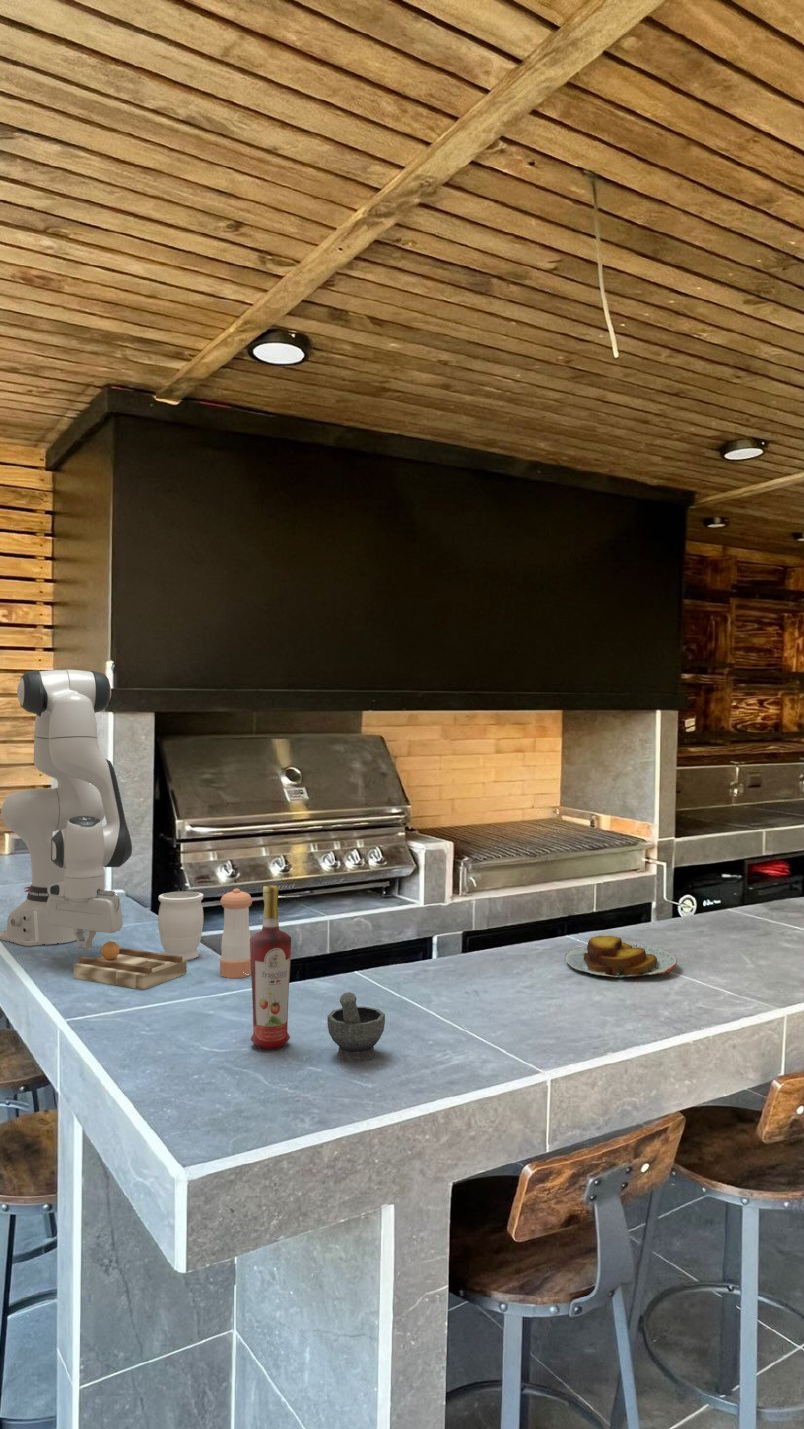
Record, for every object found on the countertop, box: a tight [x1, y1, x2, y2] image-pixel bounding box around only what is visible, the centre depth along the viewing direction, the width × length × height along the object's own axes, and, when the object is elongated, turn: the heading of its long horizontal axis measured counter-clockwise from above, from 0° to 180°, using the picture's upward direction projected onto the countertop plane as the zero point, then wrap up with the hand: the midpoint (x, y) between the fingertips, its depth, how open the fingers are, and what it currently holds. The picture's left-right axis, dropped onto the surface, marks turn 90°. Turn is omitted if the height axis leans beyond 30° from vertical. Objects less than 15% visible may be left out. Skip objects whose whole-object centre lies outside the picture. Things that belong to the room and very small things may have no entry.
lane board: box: [73, 947, 188, 991], centre depth 211 cm, size 20×14×4 cm
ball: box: [100, 940, 120, 960], centre depth 214 cm, size 4×4×4 cm
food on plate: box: [564, 935, 678, 984], centre depth 220 cm, size 25×25×7 cm
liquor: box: [250, 885, 292, 1051], centre depth 167 cm, size 7×7×28 cm
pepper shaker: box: [219, 888, 253, 979], centre depth 213 cm, size 7×7×19 cm
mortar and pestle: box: [327, 991, 386, 1063], centre depth 162 cm, size 11×9×12 cm
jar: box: [157, 891, 204, 961], centre depth 228 cm, size 11×10×15 cm
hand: (84, 948), depth 217 cm, fingers closed
